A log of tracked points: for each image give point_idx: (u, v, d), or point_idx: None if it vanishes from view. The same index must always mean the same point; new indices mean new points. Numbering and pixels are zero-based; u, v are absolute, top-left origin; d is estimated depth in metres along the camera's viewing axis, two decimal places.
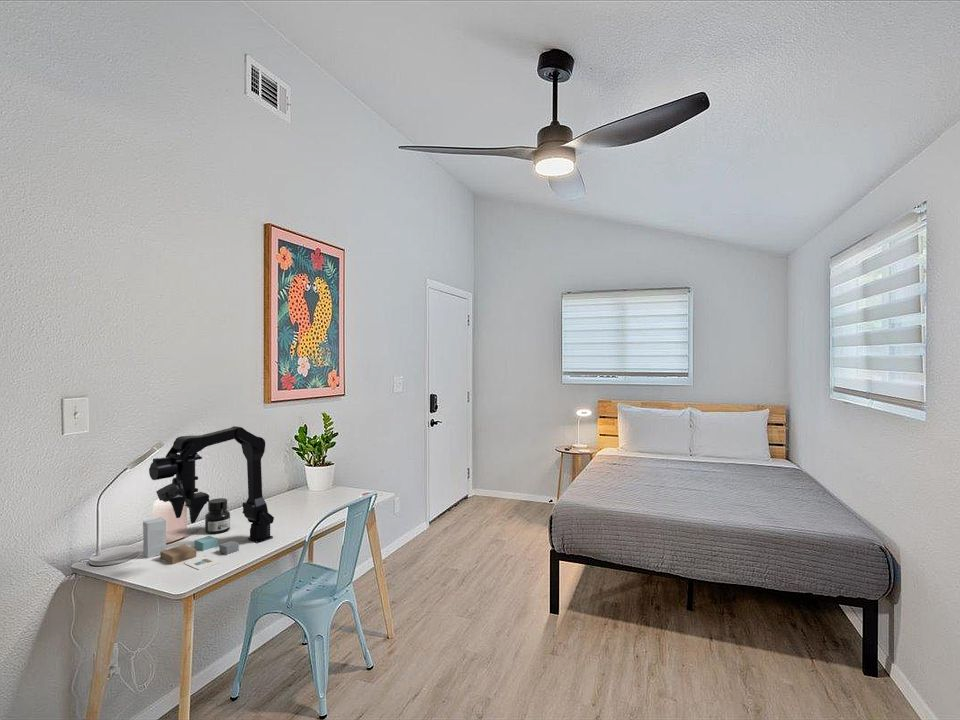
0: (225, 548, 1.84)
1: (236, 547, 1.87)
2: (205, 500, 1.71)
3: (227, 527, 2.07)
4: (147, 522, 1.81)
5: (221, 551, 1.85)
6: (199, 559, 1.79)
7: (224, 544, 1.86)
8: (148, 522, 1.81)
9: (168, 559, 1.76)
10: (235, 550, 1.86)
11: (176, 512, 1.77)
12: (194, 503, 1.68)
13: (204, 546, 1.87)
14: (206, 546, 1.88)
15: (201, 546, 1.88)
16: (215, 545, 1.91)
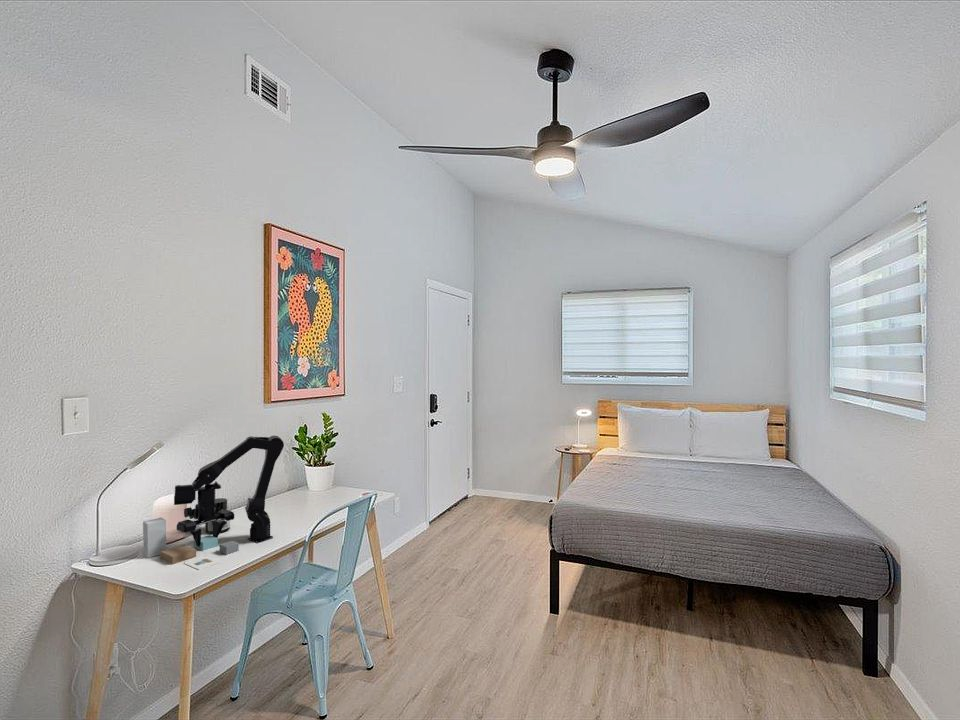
0: (225, 548, 1.84)
1: (236, 547, 1.86)
2: (182, 530, 1.82)
3: (227, 527, 2.07)
4: (147, 522, 1.81)
5: (221, 551, 1.85)
6: (199, 559, 1.79)
7: (224, 544, 1.86)
8: (148, 522, 1.81)
9: (168, 559, 1.76)
10: (235, 550, 1.86)
11: (213, 535, 1.94)
12: (177, 528, 1.84)
13: (204, 545, 1.87)
14: (206, 546, 1.88)
15: (201, 545, 1.88)
16: (215, 544, 1.91)
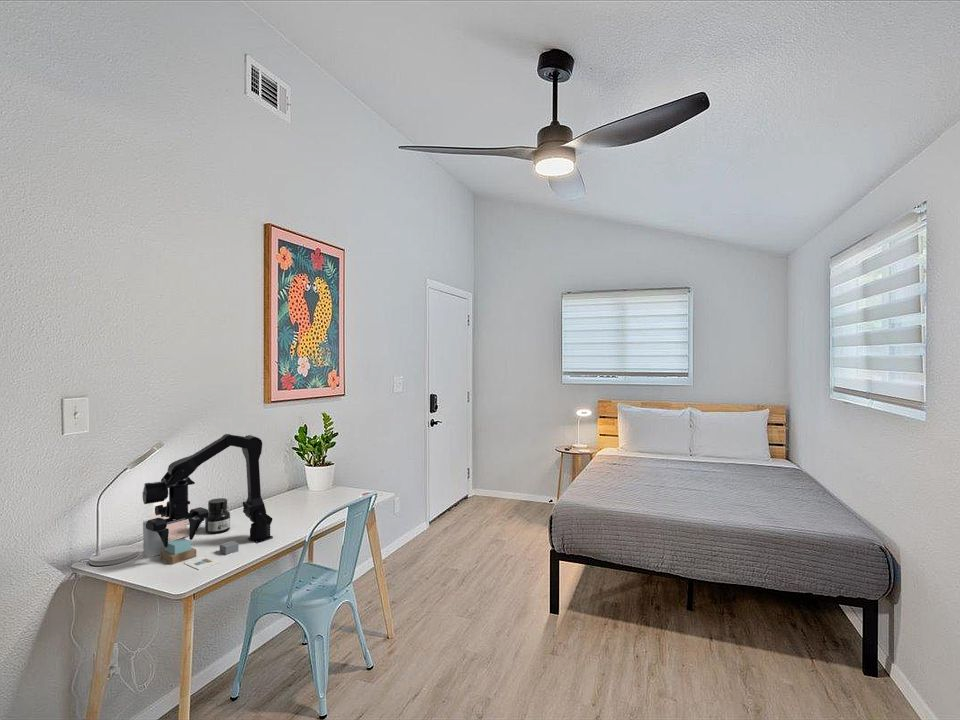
0: (224, 548, 1.84)
1: (236, 547, 1.86)
2: (152, 529, 1.72)
3: (227, 527, 2.07)
4: None
5: (221, 551, 1.85)
6: (199, 559, 1.79)
7: (224, 544, 1.86)
8: None
9: (168, 559, 1.76)
10: (235, 550, 1.86)
11: (189, 533, 1.84)
12: (146, 527, 1.74)
13: (176, 549, 1.77)
14: (178, 549, 1.78)
15: (172, 549, 1.77)
16: (188, 548, 1.81)
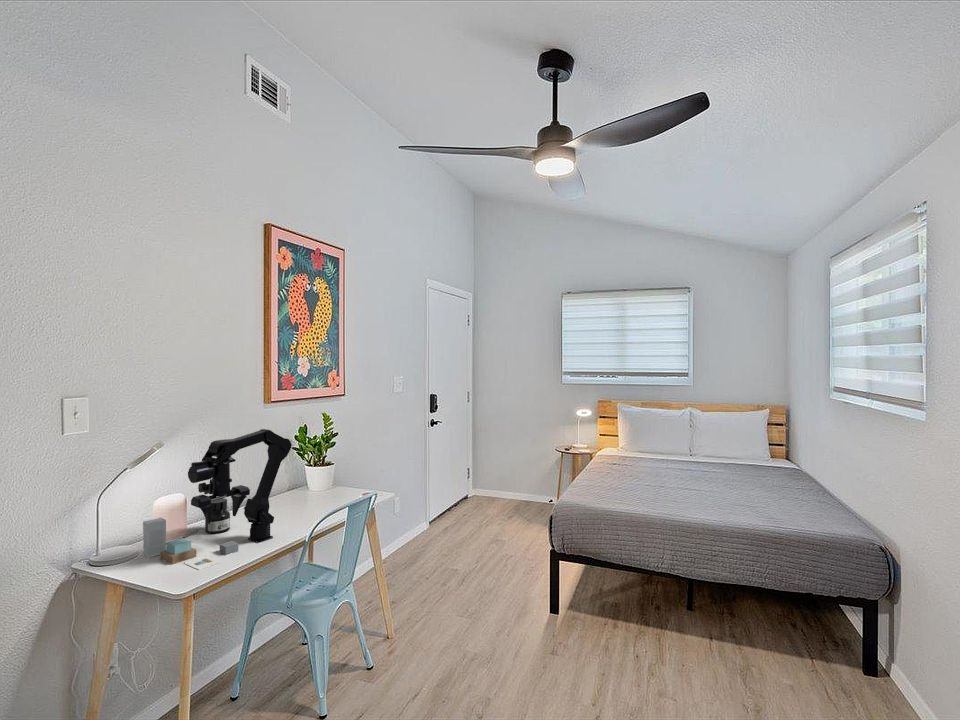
0: (224, 548, 1.84)
1: (236, 547, 1.86)
2: (197, 505, 1.77)
3: (227, 527, 2.07)
4: (147, 522, 1.81)
5: (221, 551, 1.85)
6: (199, 559, 1.79)
7: (224, 544, 1.86)
8: (148, 522, 1.81)
9: (168, 559, 1.76)
10: (235, 550, 1.86)
11: (232, 510, 1.90)
12: (191, 503, 1.79)
13: (176, 549, 1.77)
14: (178, 549, 1.78)
15: (172, 549, 1.77)
16: (188, 548, 1.81)
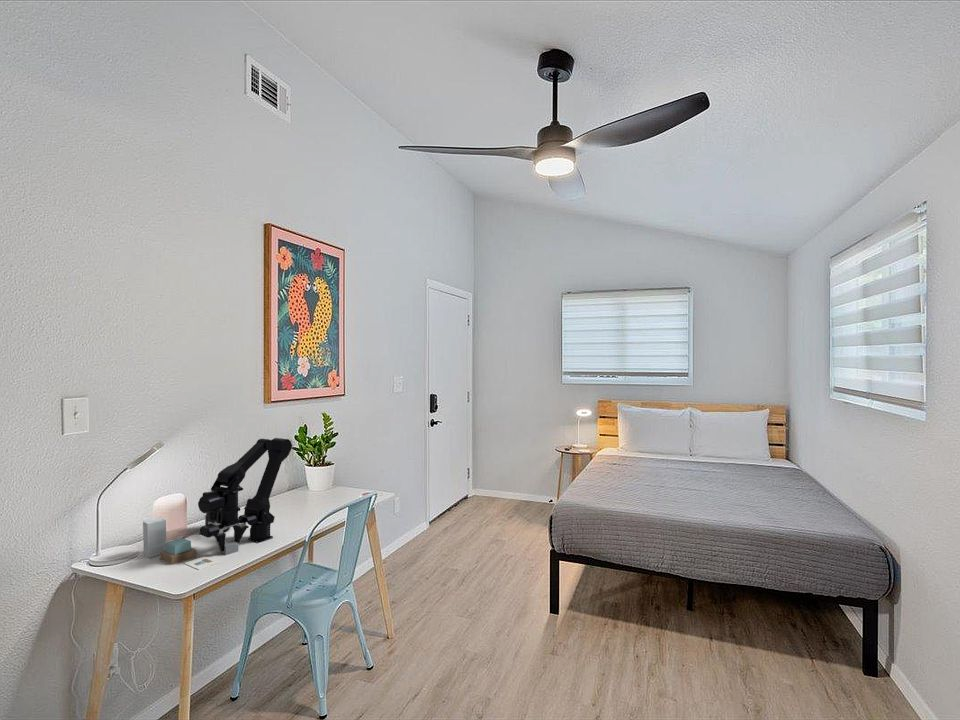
0: (224, 547, 1.84)
1: (236, 547, 1.86)
2: (205, 535, 1.78)
3: None
4: (147, 522, 1.81)
5: None
6: (199, 559, 1.79)
7: None
8: (148, 522, 1.81)
9: (167, 559, 1.76)
10: (234, 550, 1.86)
11: (234, 540, 1.89)
12: (200, 533, 1.80)
13: (176, 549, 1.77)
14: (178, 549, 1.78)
15: (172, 549, 1.77)
16: (188, 548, 1.81)
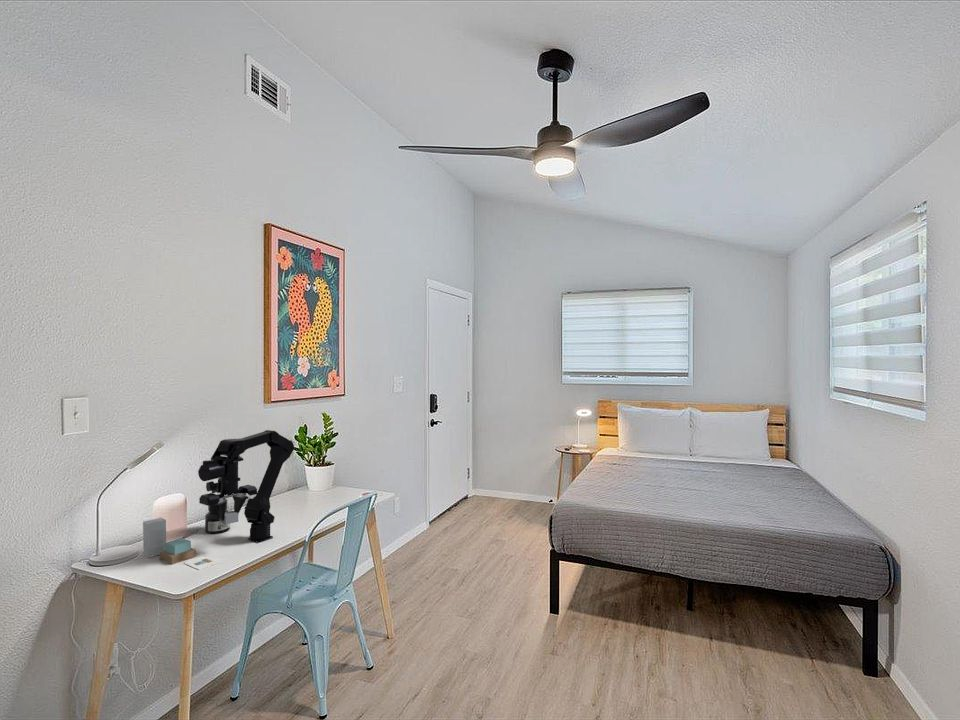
0: (224, 517, 1.84)
1: (236, 517, 1.86)
2: (205, 503, 1.78)
3: (227, 527, 2.07)
4: (147, 522, 1.81)
5: None
6: (199, 559, 1.79)
7: None
8: (148, 522, 1.81)
9: (167, 560, 1.76)
10: (234, 520, 1.86)
11: (234, 510, 1.89)
12: (200, 501, 1.79)
13: (176, 549, 1.77)
14: (178, 549, 1.78)
15: (172, 549, 1.77)
16: (188, 548, 1.81)
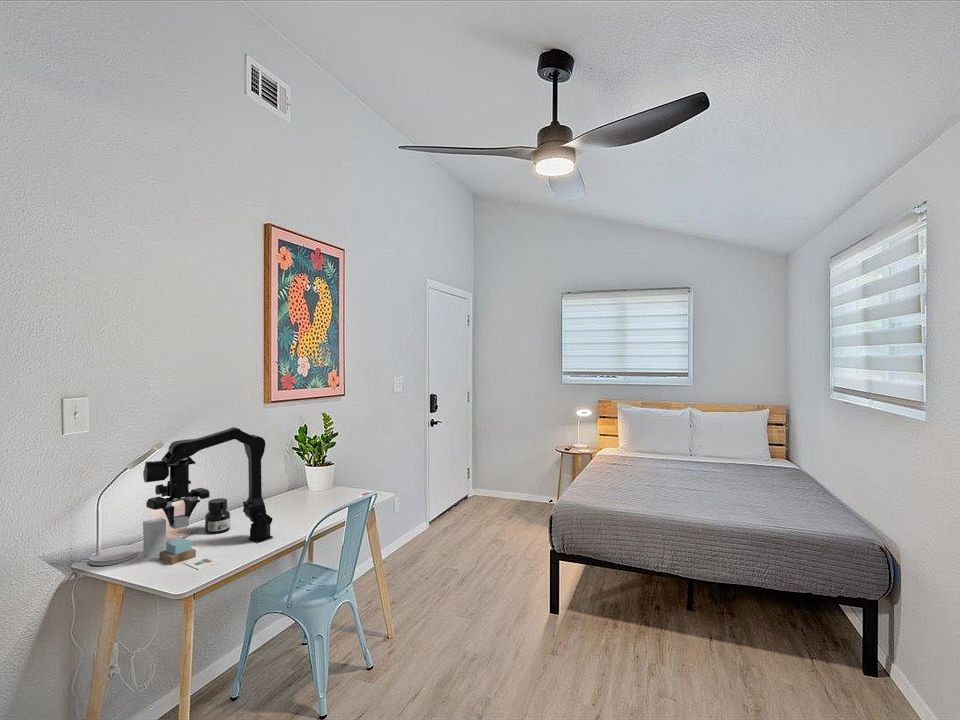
0: (173, 521, 1.78)
1: (186, 521, 1.80)
2: (152, 507, 1.71)
3: (227, 527, 2.07)
4: (147, 522, 1.81)
5: None
6: (199, 559, 1.79)
7: (174, 517, 1.80)
8: (148, 522, 1.81)
9: (167, 560, 1.76)
10: (184, 524, 1.80)
11: (185, 514, 1.83)
12: (147, 505, 1.73)
13: (176, 549, 1.77)
14: (179, 549, 1.78)
15: (173, 549, 1.77)
16: (188, 548, 1.81)
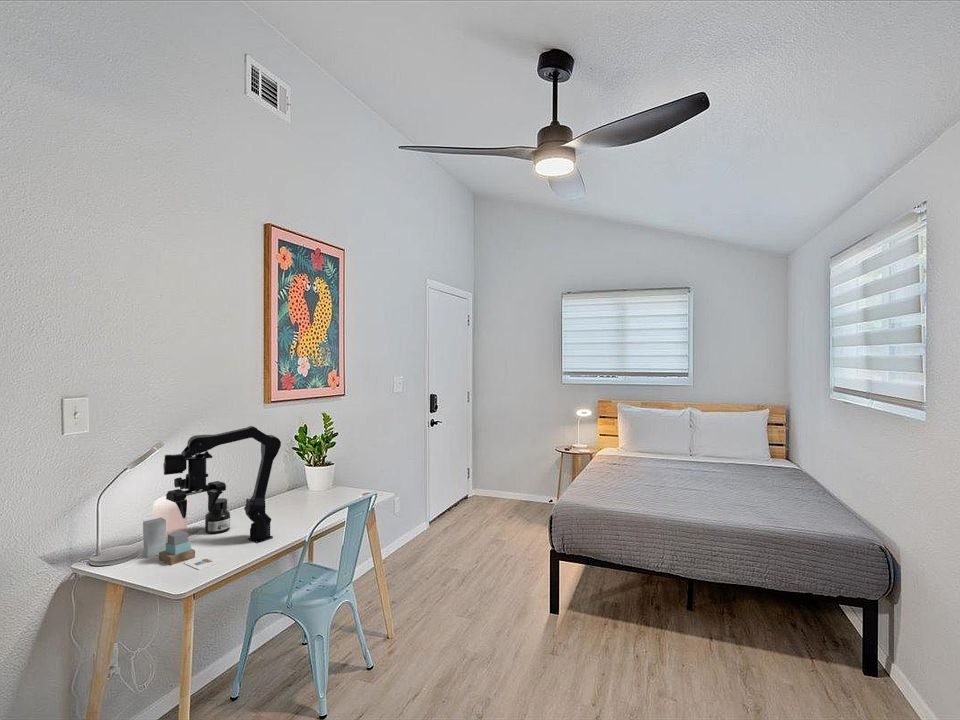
0: (173, 538, 1.77)
1: (185, 537, 1.80)
2: (172, 499, 1.78)
3: (227, 527, 2.07)
4: (147, 522, 1.81)
5: (169, 541, 1.78)
6: (199, 559, 1.79)
7: (172, 534, 1.79)
8: (148, 522, 1.81)
9: (166, 560, 1.76)
10: (184, 540, 1.79)
11: (208, 505, 1.91)
12: (166, 498, 1.80)
13: (176, 549, 1.77)
14: (179, 549, 1.78)
15: (173, 549, 1.77)
16: (188, 548, 1.81)
